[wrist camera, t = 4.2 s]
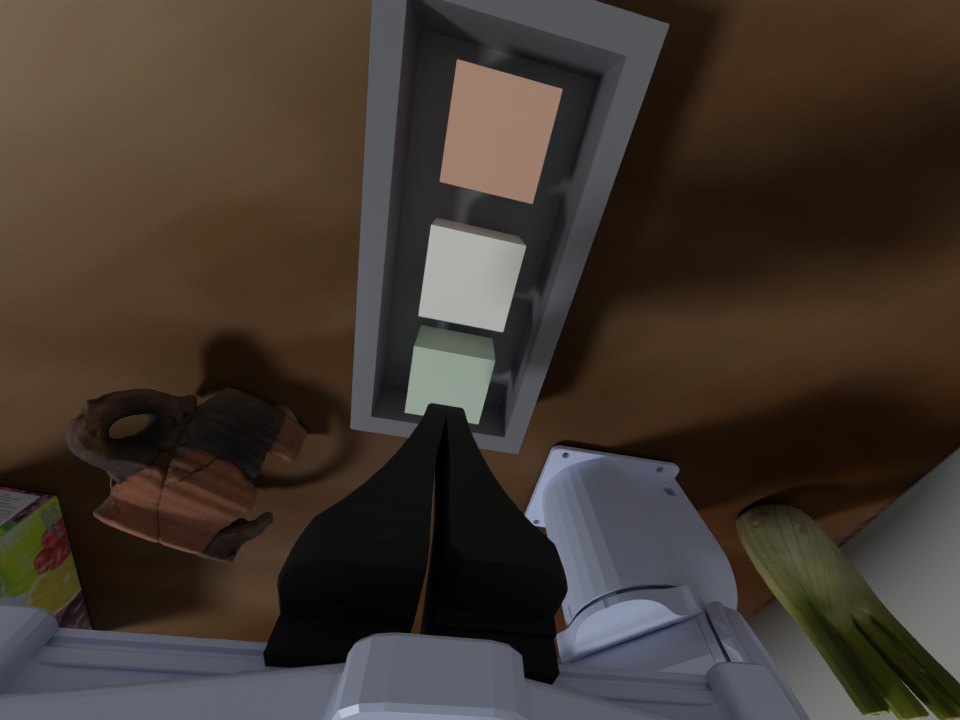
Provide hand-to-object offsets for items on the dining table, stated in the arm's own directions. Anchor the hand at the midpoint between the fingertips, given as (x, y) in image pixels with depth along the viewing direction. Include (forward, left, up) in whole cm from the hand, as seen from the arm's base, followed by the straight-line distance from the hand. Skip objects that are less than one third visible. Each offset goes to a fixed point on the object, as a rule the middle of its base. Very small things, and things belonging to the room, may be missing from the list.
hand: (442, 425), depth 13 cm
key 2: (0, -10, -6) cm, 12 cm away
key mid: (0, -5, -5) cm, 7 cm away
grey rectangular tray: (0, -5, -8) cm, 9 cm away
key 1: (0, 0, -5) cm, 5 cm away
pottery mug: (+13, +10, -8) cm, 18 cm away
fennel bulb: (-27, +10, -8) cm, 30 cm away
